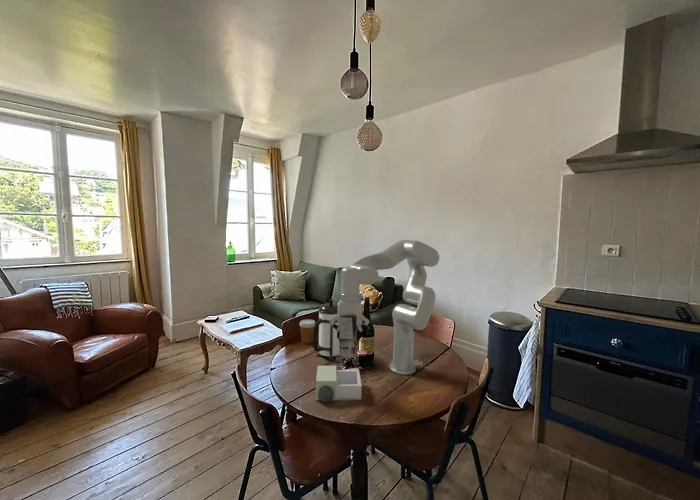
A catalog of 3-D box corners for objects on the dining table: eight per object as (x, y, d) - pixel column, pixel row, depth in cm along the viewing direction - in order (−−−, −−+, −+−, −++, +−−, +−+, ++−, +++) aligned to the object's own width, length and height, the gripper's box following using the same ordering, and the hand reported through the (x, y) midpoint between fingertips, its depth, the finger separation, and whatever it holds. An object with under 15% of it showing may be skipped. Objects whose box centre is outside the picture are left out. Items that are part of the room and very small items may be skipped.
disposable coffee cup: (314, 345, 176) (314, 324, 175) (297, 344, 176) (298, 324, 175) (316, 338, 186) (316, 319, 185) (300, 338, 186) (300, 318, 185)
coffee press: (314, 349, 170) (315, 296, 167) (343, 349, 171) (344, 296, 168) (312, 363, 153) (313, 304, 150) (344, 363, 154) (346, 304, 151)
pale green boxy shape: (358, 381, 137) (358, 364, 136) (361, 402, 121) (362, 383, 120) (317, 381, 136) (317, 364, 135) (315, 402, 120) (315, 383, 119)
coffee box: (354, 357, 122) (355, 318, 120) (338, 356, 123) (339, 316, 122) (358, 348, 131) (359, 311, 129) (343, 347, 132) (344, 310, 130)
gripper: (370, 295, 129) (369, 336, 131) (328, 295, 128) (328, 336, 130) (372, 300, 122) (371, 343, 123) (328, 299, 121) (327, 343, 122)
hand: (349, 339), depth 126 cm, fingers closed on coffee box, 7 cm apart
